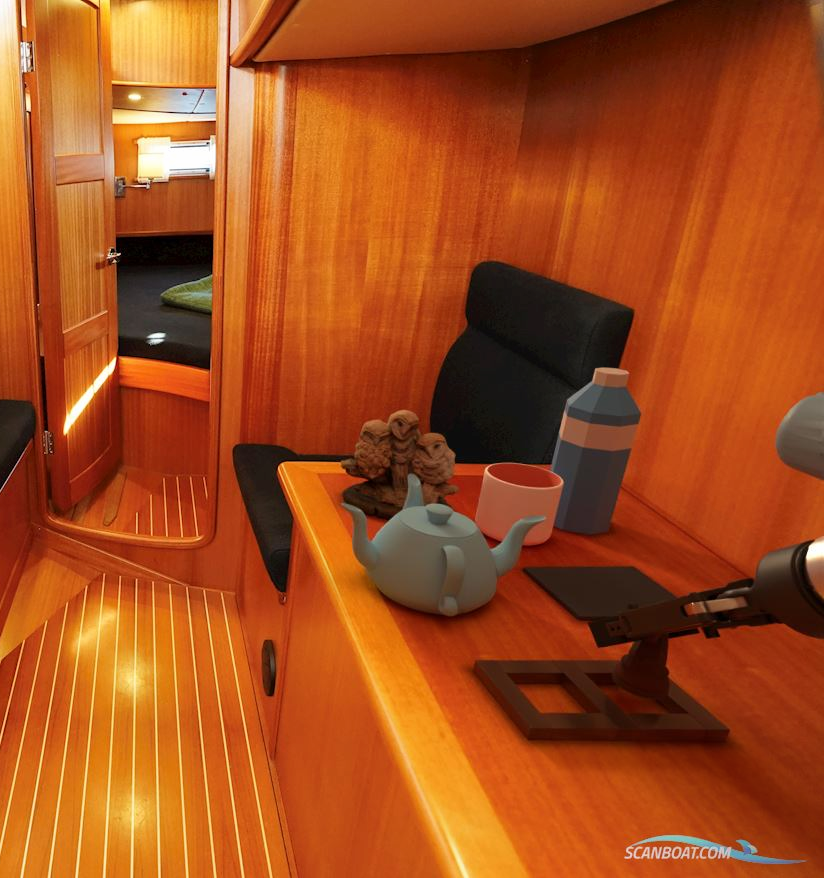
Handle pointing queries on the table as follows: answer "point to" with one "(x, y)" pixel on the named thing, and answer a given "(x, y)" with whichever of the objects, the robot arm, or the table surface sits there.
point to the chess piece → (645, 668)
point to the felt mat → (598, 589)
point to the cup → (518, 500)
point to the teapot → (435, 555)
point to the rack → (592, 704)
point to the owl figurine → (398, 465)
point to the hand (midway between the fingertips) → (617, 632)
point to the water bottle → (594, 451)
